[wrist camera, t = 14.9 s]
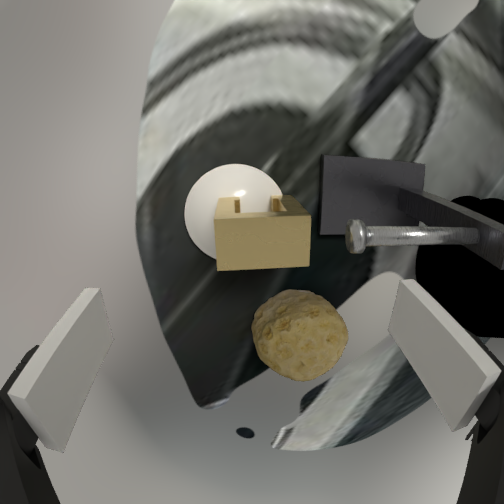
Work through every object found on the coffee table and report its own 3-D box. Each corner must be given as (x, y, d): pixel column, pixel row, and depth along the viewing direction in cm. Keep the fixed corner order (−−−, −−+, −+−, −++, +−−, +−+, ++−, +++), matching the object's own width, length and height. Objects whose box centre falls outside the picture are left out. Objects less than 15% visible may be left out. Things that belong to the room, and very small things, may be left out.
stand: (303, 153, 28) (384, 177, 13) (420, 163, 29) (537, 198, 13) (301, 231, 31) (362, 326, 15) (413, 231, 32) (512, 301, 16)
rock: (267, 267, 37) (224, 315, 29) (360, 285, 32) (340, 345, 24) (269, 329, 41) (233, 379, 33) (349, 348, 36) (327, 408, 28)
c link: (221, 237, 30) (217, 270, 23) (218, 197, 29) (213, 219, 21) (291, 234, 31) (309, 266, 23) (291, 194, 29) (311, 215, 22)
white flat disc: (182, 165, 28) (181, 166, 28) (286, 163, 29) (287, 164, 28) (189, 261, 32) (188, 263, 31) (283, 259, 32) (284, 261, 32)
